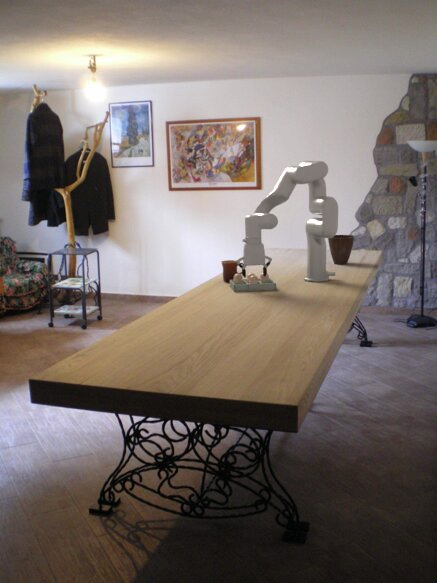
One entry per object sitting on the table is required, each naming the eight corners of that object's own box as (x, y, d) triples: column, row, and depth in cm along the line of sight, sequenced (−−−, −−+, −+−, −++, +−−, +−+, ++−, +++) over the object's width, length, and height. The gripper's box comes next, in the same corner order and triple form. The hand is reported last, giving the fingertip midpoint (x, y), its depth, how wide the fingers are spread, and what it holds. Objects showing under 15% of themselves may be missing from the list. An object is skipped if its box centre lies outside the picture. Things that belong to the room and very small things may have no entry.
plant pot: (322, 262, 387) (322, 235, 383) (343, 260, 393) (344, 234, 390) (337, 266, 373) (337, 238, 370) (358, 264, 380) (359, 236, 376)
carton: (270, 284, 327) (270, 270, 326) (276, 289, 314) (275, 275, 312) (229, 286, 325) (229, 272, 323) (234, 291, 311) (233, 277, 310)
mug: (220, 283, 333) (220, 263, 331) (222, 279, 342) (222, 260, 340) (244, 283, 332) (244, 262, 330) (245, 279, 340) (245, 260, 338)
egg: (259, 288, 314) (258, 275, 313) (250, 289, 313) (249, 276, 312) (257, 286, 318) (257, 274, 317) (248, 287, 318) (248, 274, 316)
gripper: (236, 243, 307) (237, 279, 310) (273, 241, 309) (273, 276, 312) (234, 241, 314) (235, 276, 318) (269, 239, 316) (270, 274, 320)
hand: (254, 276), depth 315 cm, fingers open, 9 cm apart
